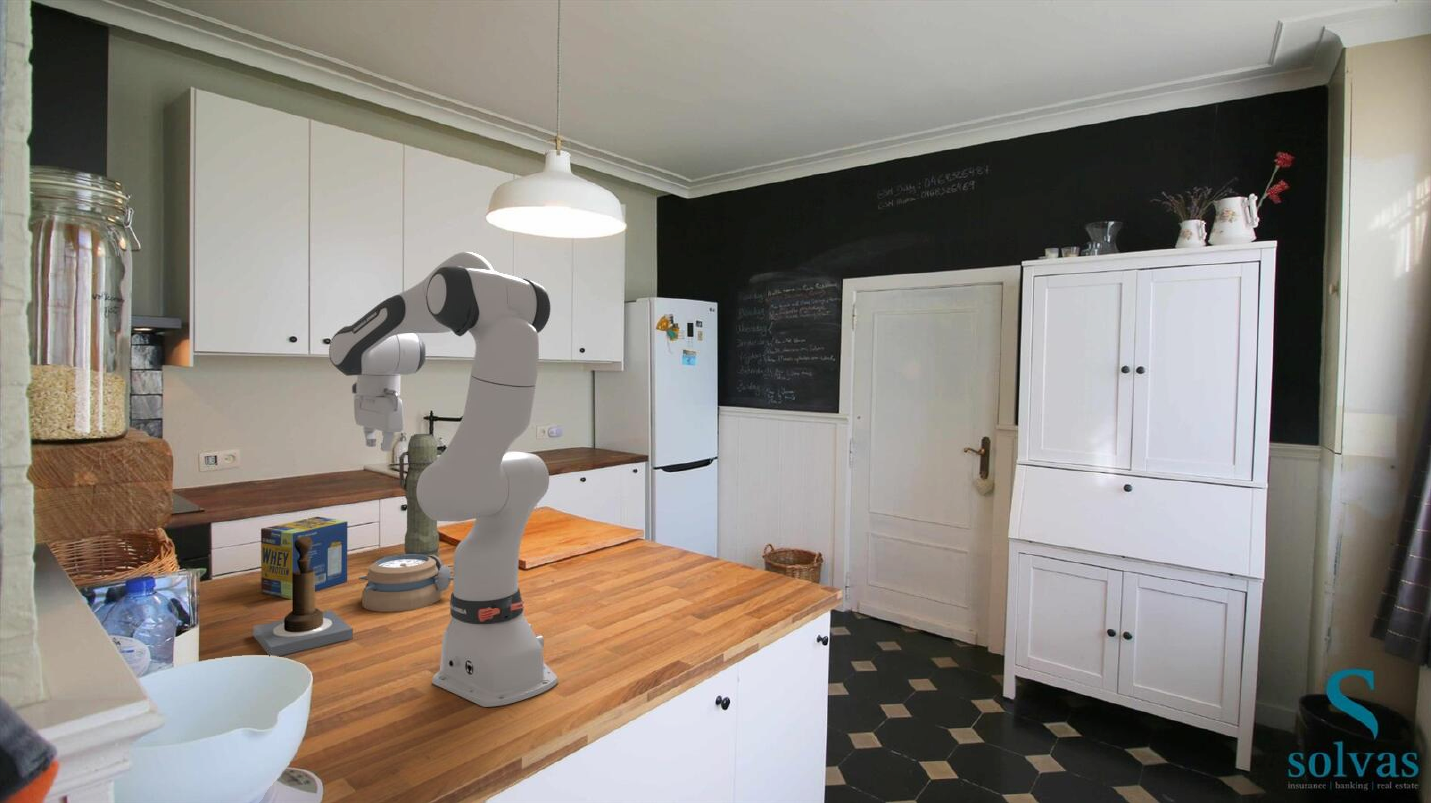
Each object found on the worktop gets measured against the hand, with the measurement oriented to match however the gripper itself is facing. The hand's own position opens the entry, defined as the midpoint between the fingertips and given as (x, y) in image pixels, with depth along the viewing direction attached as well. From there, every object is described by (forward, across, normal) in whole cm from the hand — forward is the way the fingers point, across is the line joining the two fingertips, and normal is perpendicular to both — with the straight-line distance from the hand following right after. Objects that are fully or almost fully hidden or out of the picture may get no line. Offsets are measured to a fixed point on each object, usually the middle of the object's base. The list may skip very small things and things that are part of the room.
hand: (378, 448), depth 157 cm
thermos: (+36, +29, -22) cm, 51 cm away
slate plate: (+35, -12, +18) cm, 42 cm away
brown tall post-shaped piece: (+33, -12, +18) cm, 40 cm away
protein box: (+36, +22, +9) cm, 43 cm away
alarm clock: (+36, -3, -8) cm, 37 cm away
